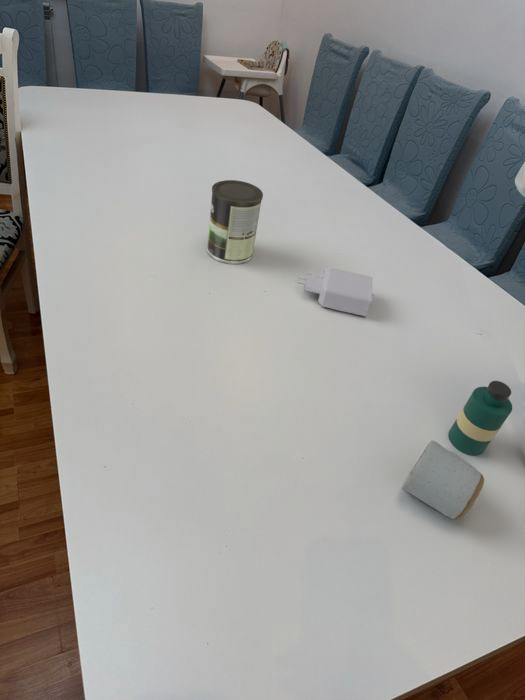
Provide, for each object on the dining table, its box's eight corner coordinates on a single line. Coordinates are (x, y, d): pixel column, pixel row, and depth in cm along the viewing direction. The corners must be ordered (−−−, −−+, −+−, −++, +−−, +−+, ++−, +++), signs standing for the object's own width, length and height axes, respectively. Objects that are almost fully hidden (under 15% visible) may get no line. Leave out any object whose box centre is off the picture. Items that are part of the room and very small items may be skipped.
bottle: (479, 429, 78) (514, 377, 71) (489, 458, 74) (527, 406, 67) (444, 423, 78) (475, 370, 71) (452, 452, 74) (486, 399, 67)
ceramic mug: (453, 534, 63) (480, 500, 58) (395, 498, 66) (415, 462, 61) (475, 481, 71) (500, 446, 66) (421, 450, 73) (441, 415, 69)
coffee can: (200, 257, 105) (205, 194, 96) (214, 236, 113) (219, 175, 104) (247, 269, 104) (257, 206, 95) (257, 246, 112) (267, 186, 103)
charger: (296, 277, 105) (366, 293, 104) (290, 301, 98) (365, 319, 97) (300, 258, 102) (372, 274, 101) (295, 281, 95) (372, 299, 94)
